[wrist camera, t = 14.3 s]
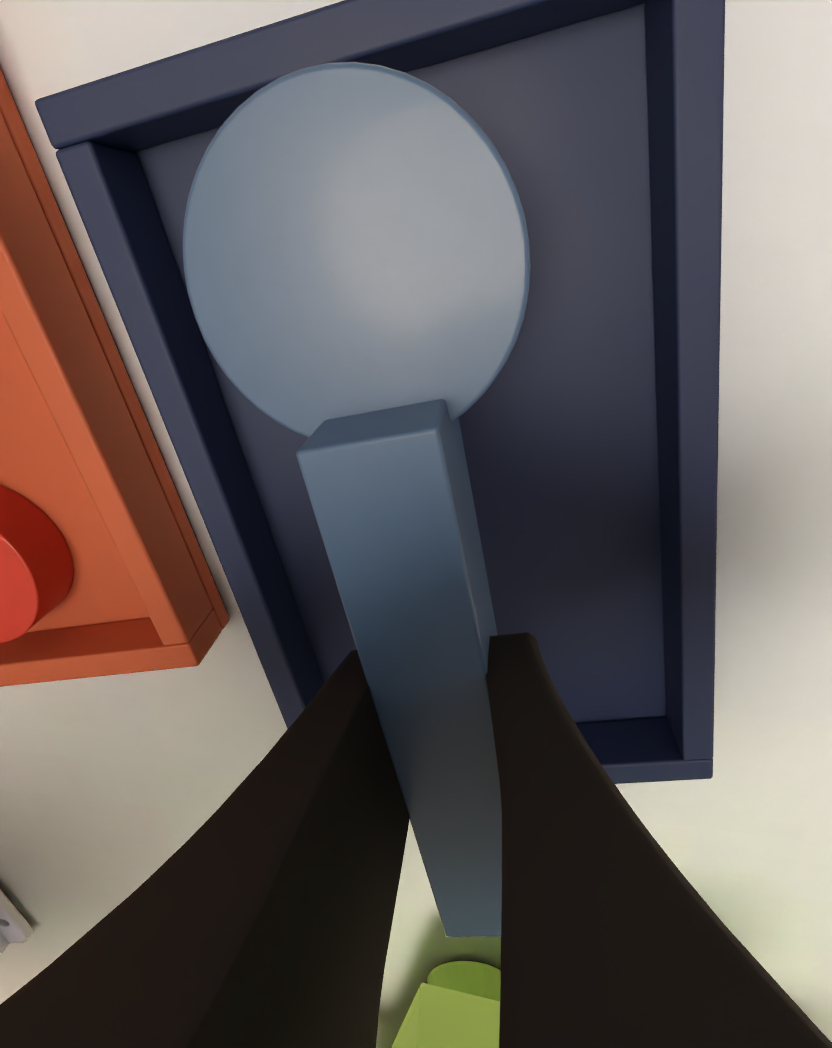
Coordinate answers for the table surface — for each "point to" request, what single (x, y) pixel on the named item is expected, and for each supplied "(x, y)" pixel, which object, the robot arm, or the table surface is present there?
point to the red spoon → (29, 565)
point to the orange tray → (86, 457)
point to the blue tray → (533, 365)
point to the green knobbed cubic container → (454, 1009)
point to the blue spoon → (380, 397)
